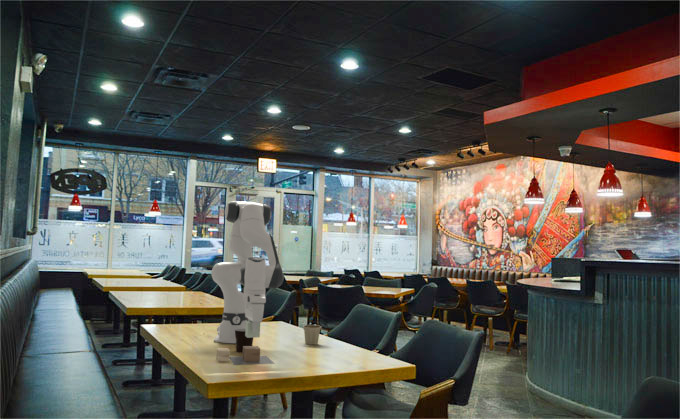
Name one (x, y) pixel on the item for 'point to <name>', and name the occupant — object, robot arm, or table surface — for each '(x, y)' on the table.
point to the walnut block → (251, 353)
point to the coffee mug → (242, 340)
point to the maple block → (223, 354)
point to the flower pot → (311, 334)
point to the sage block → (249, 330)
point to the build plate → (240, 361)
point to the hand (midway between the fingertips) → (252, 331)
